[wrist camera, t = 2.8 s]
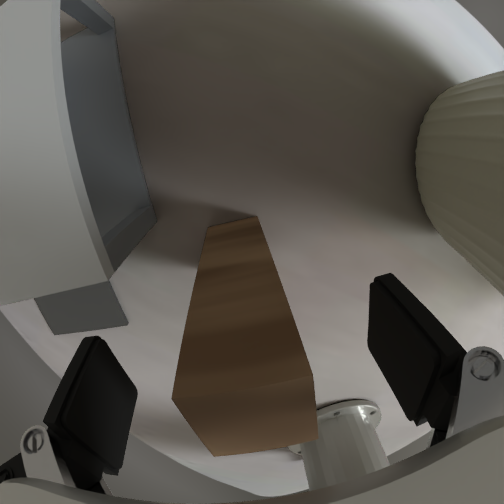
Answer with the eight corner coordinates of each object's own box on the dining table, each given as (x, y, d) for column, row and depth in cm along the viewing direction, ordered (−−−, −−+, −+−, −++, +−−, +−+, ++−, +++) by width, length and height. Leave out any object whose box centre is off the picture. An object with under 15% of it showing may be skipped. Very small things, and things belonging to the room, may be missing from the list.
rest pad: (128, 322, 21) (127, 325, 21) (56, 332, 21) (54, 335, 21) (86, 221, 18) (83, 222, 17) (15, 248, 18) (13, 250, 18)
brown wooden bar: (266, 261, 20) (318, 439, 7) (220, 271, 20) (213, 456, 7) (257, 215, 19) (313, 374, 6) (207, 227, 19) (171, 398, 6)
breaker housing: (157, 221, 18) (107, 281, 10) (37, 258, 18) (-25, 311, 10) (113, 18, 12) (55, -34, 4) (-1, 88, 12) (-71, 87, 4)
